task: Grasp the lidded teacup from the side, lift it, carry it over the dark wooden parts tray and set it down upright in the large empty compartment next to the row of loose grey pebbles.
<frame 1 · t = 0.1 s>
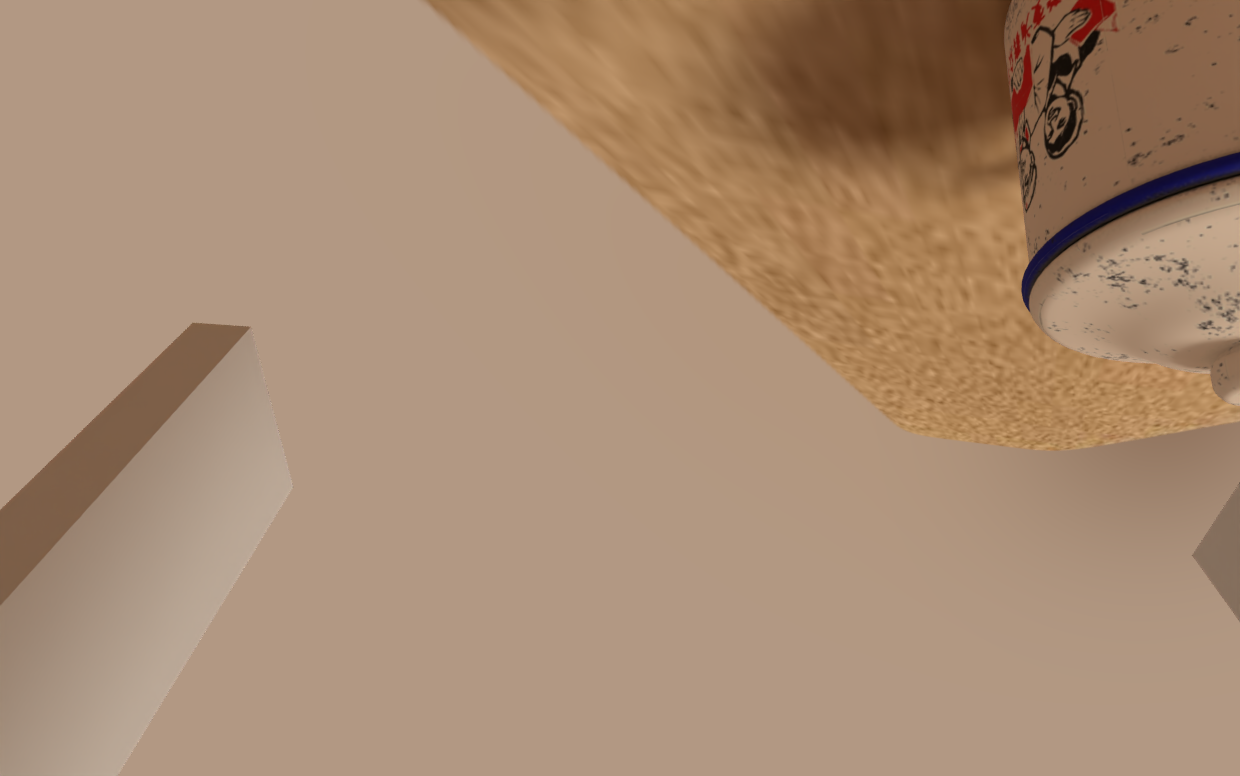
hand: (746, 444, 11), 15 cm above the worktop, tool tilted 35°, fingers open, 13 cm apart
teacup with lid: (1168, 16, 22), on the worktop
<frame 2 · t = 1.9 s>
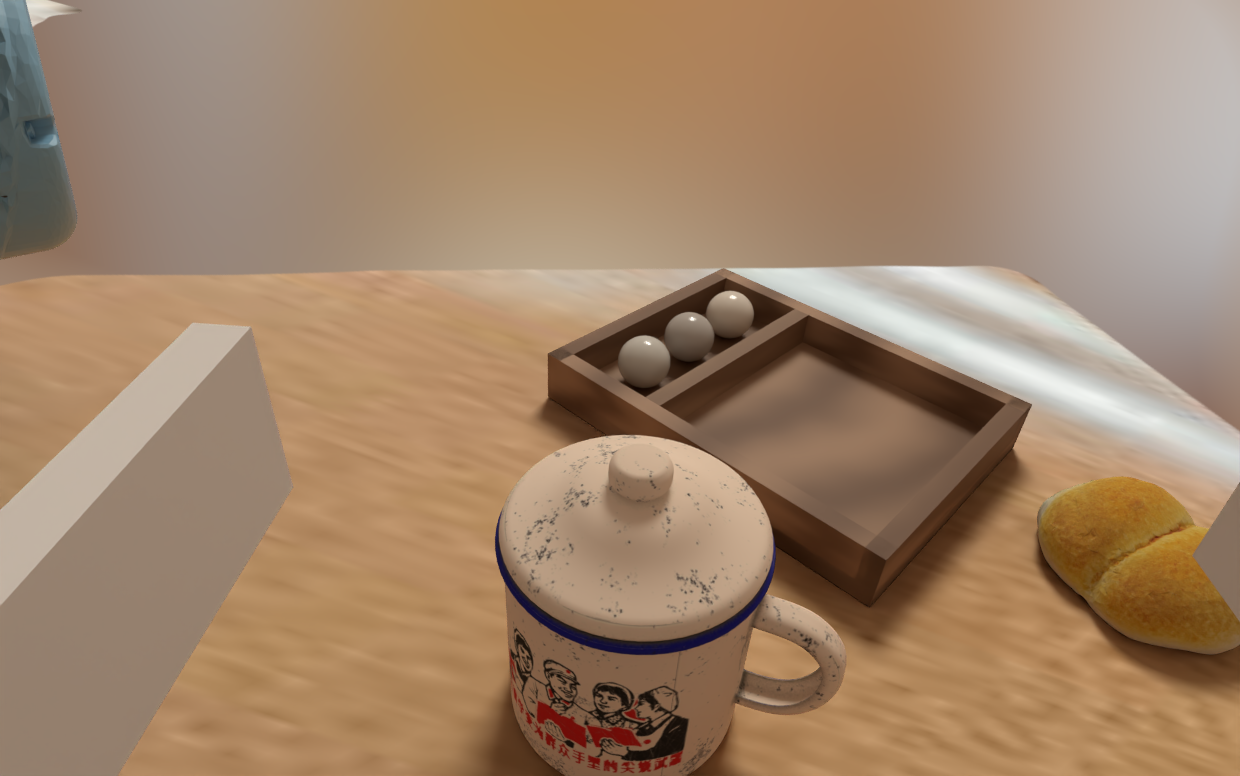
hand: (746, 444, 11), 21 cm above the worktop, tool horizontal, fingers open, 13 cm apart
bread roll: (1128, 580, 37), on the worktop
parts tray: (776, 421, 45), on the worktop
pebble b: (686, 358, 48), point 1 cm above the worktop, touching parts tray
teacup with lid: (657, 703, 30), on the worktop
pebble a: (642, 383, 46), point 1 cm above the worktop, touching parts tray
pebble c: (726, 335, 50), point 1 cm above the worktop, touching parts tray
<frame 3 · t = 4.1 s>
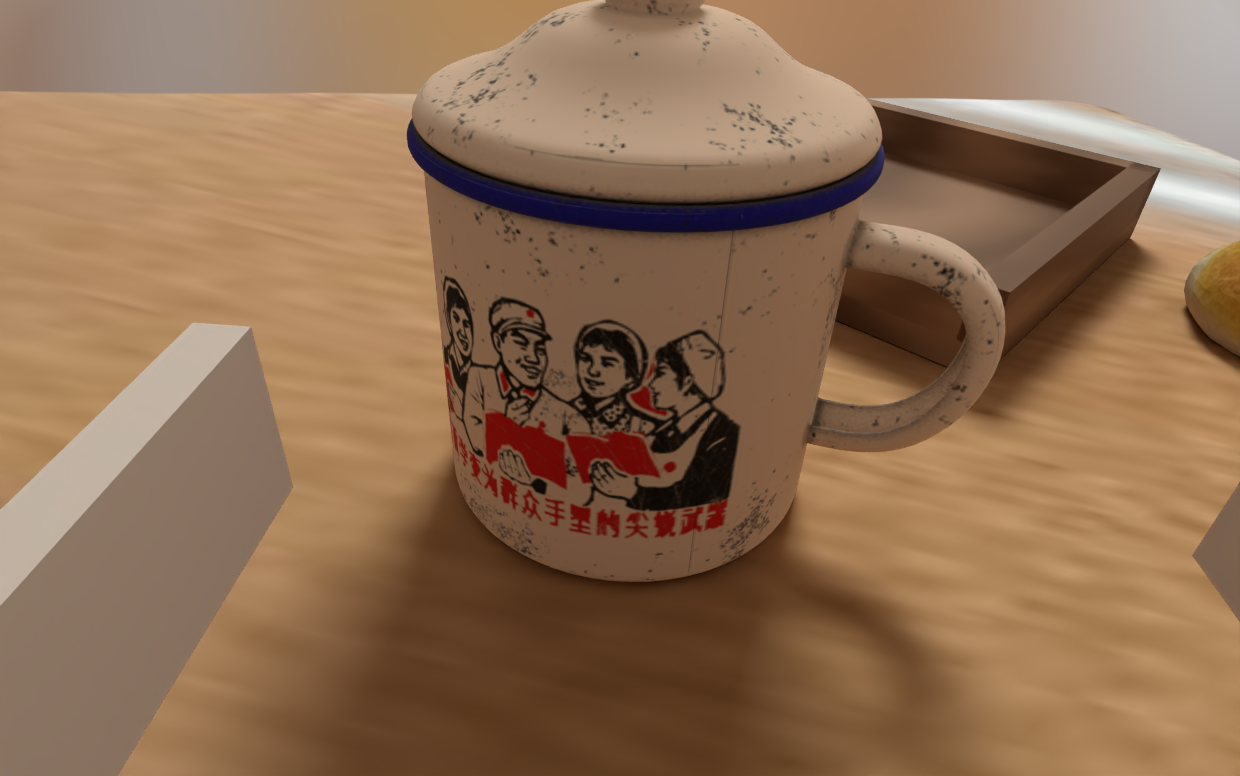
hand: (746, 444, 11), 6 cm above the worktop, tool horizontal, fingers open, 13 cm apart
parts tray: (820, 212, 35), on the worktop
teacup with lid: (679, 482, 20), on the worktop
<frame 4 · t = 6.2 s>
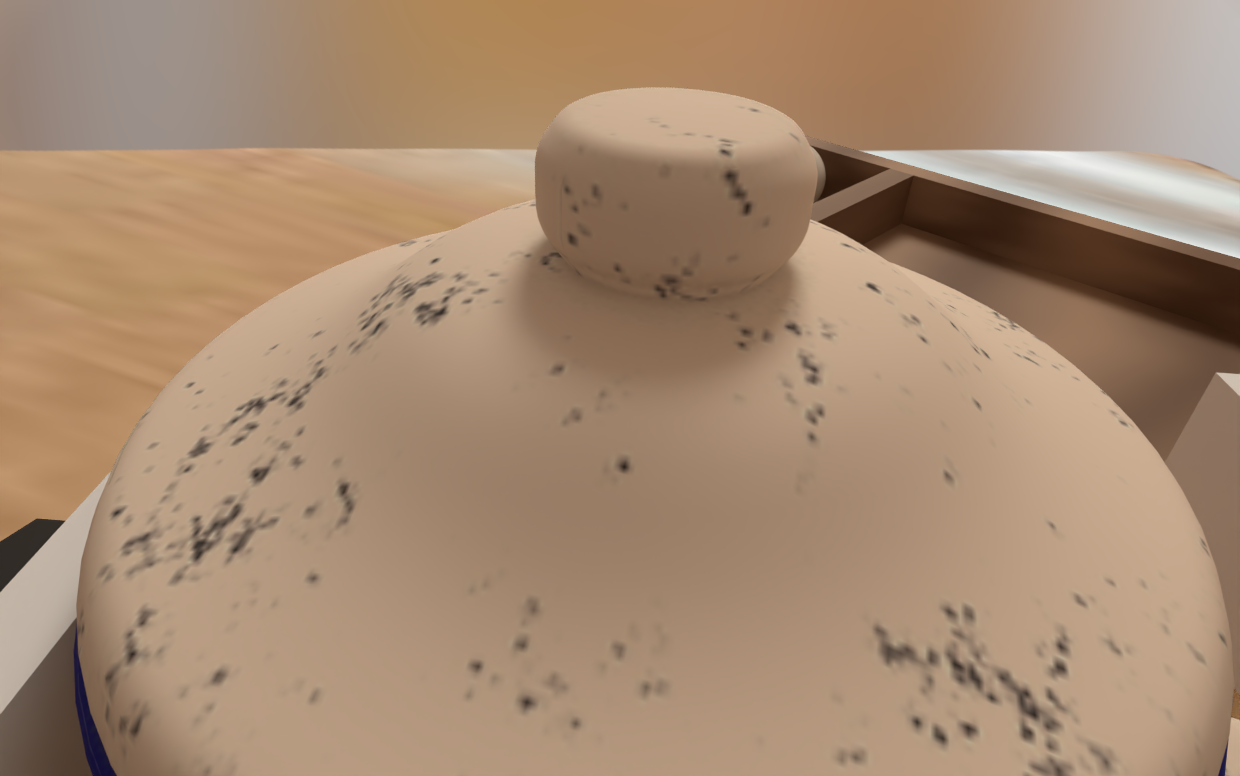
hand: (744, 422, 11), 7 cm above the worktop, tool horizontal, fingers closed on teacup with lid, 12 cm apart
parts tray: (877, 332, 26), on the worktop
pebble c: (780, 214, 32), point 1 cm above the worktop, touching parts tray
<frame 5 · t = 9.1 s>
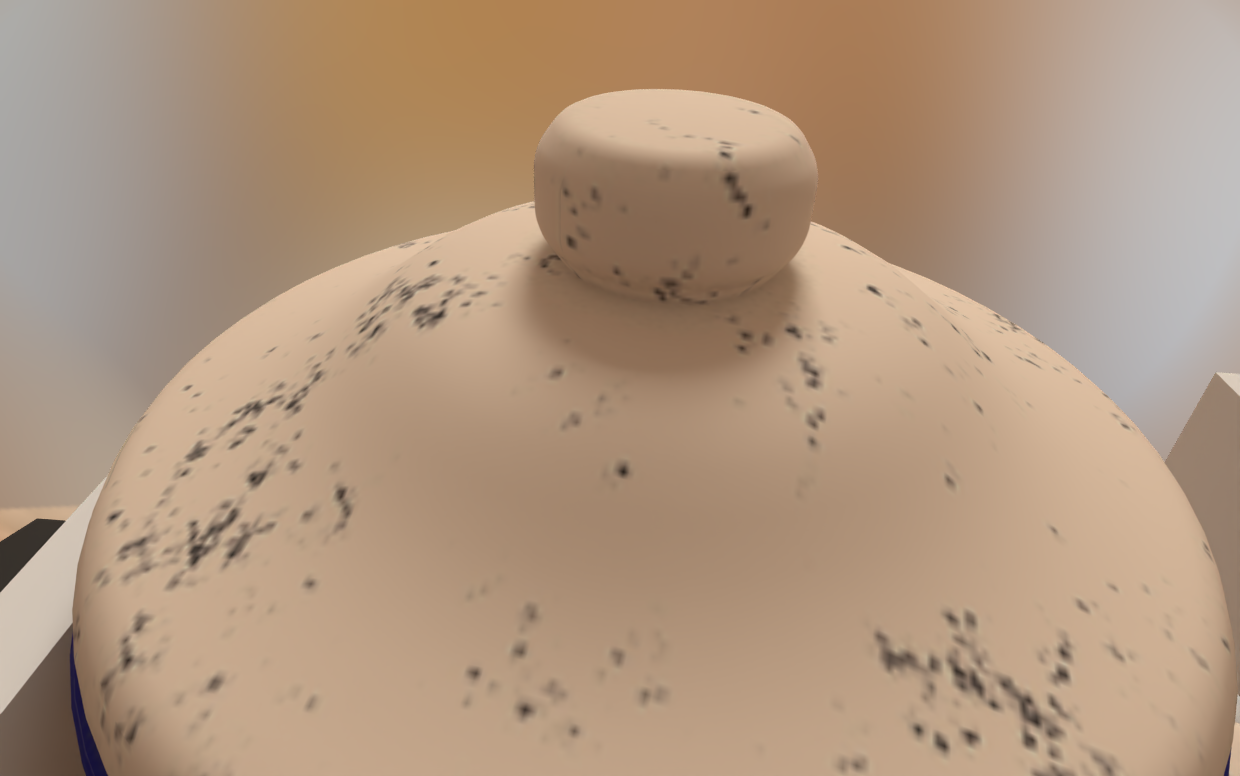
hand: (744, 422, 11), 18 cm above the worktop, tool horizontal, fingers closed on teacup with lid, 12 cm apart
when the fingers open (9 cm above the worktop, at t = 12.0 s): teacup with lid drops 1 cm, resting on parts tray.
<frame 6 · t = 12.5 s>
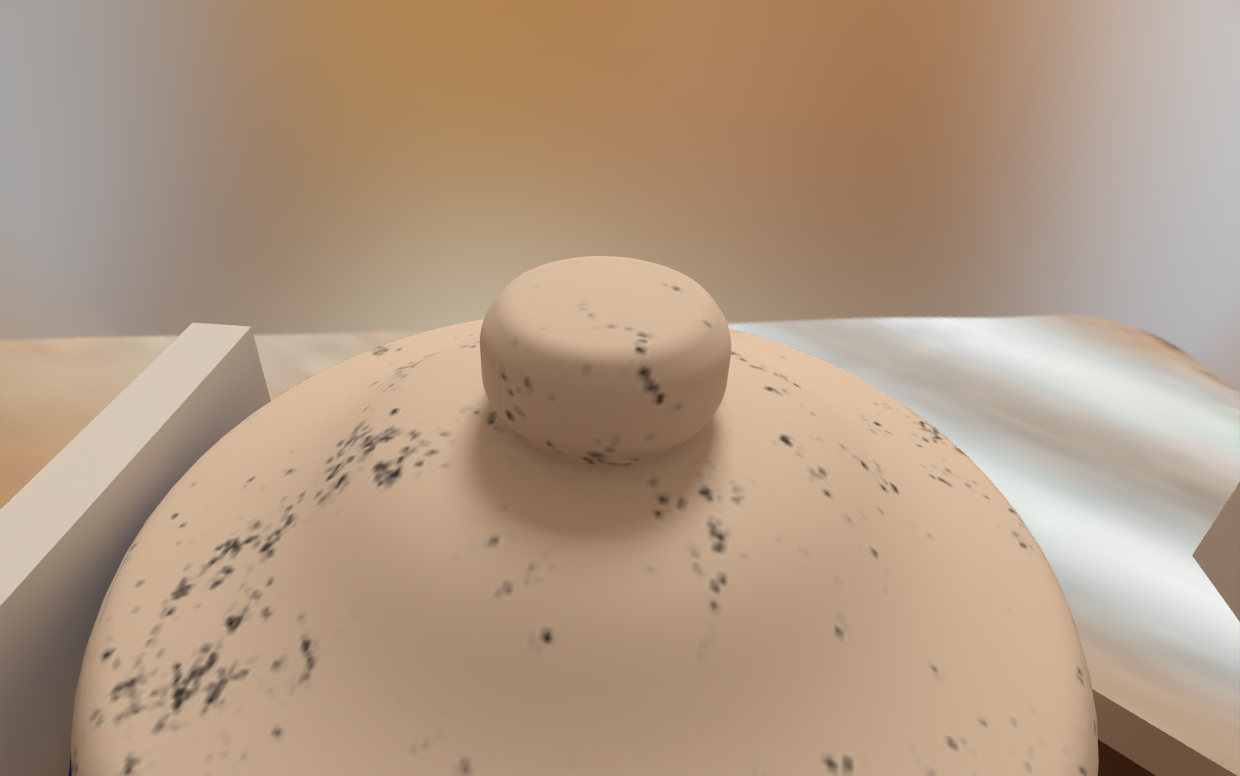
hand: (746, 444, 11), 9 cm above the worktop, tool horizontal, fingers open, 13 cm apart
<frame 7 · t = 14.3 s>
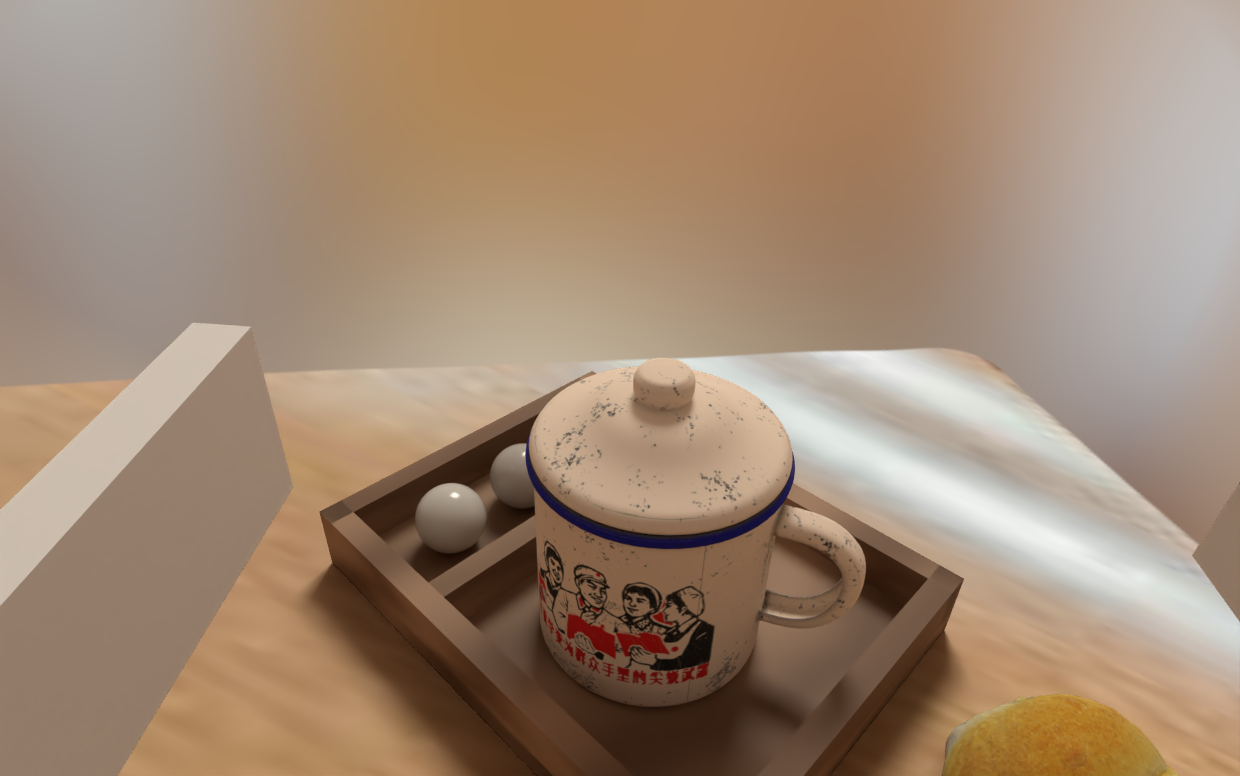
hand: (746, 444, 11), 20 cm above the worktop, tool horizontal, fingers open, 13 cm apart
parts tray: (627, 594, 34), on the worktop
pebble b: (524, 500, 37), point 1 cm above the worktop, touching parts tray
teacup with lid: (682, 631, 31), point 1 cm above the worktop, touching parts tray
pebble a: (454, 543, 35), point 1 cm above the worktop, touching parts tray
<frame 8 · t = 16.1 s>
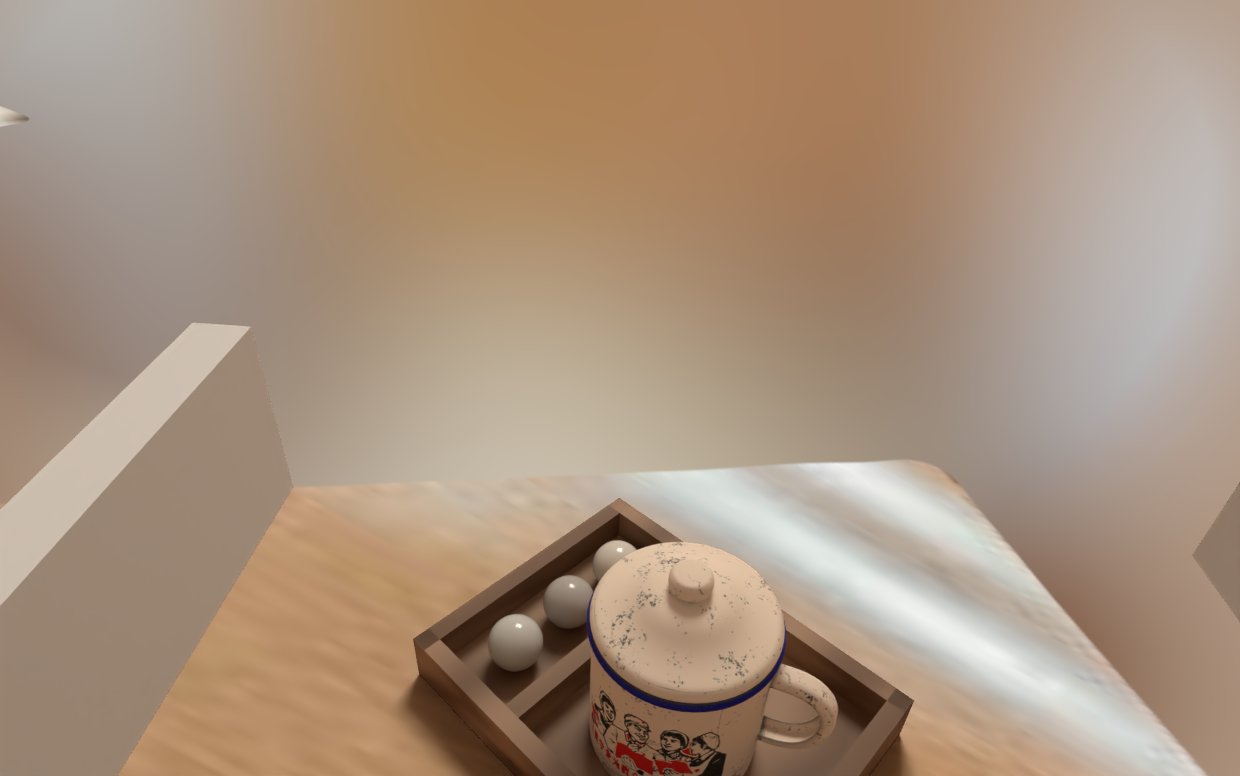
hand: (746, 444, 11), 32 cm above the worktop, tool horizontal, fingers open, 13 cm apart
parts tray: (654, 702, 43), on the worktop
pebble b: (569, 618, 46), point 1 cm above the worktop, touching parts tray
teacup with lid: (698, 739, 40), point 1 cm above the worktop, touching parts tray
pebble a: (516, 659, 44), point 1 cm above the worktop, touching parts tray
pebble c: (616, 582, 49), point 1 cm above the worktop, touching parts tray
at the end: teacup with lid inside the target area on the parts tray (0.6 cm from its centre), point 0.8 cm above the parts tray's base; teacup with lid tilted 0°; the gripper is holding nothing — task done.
